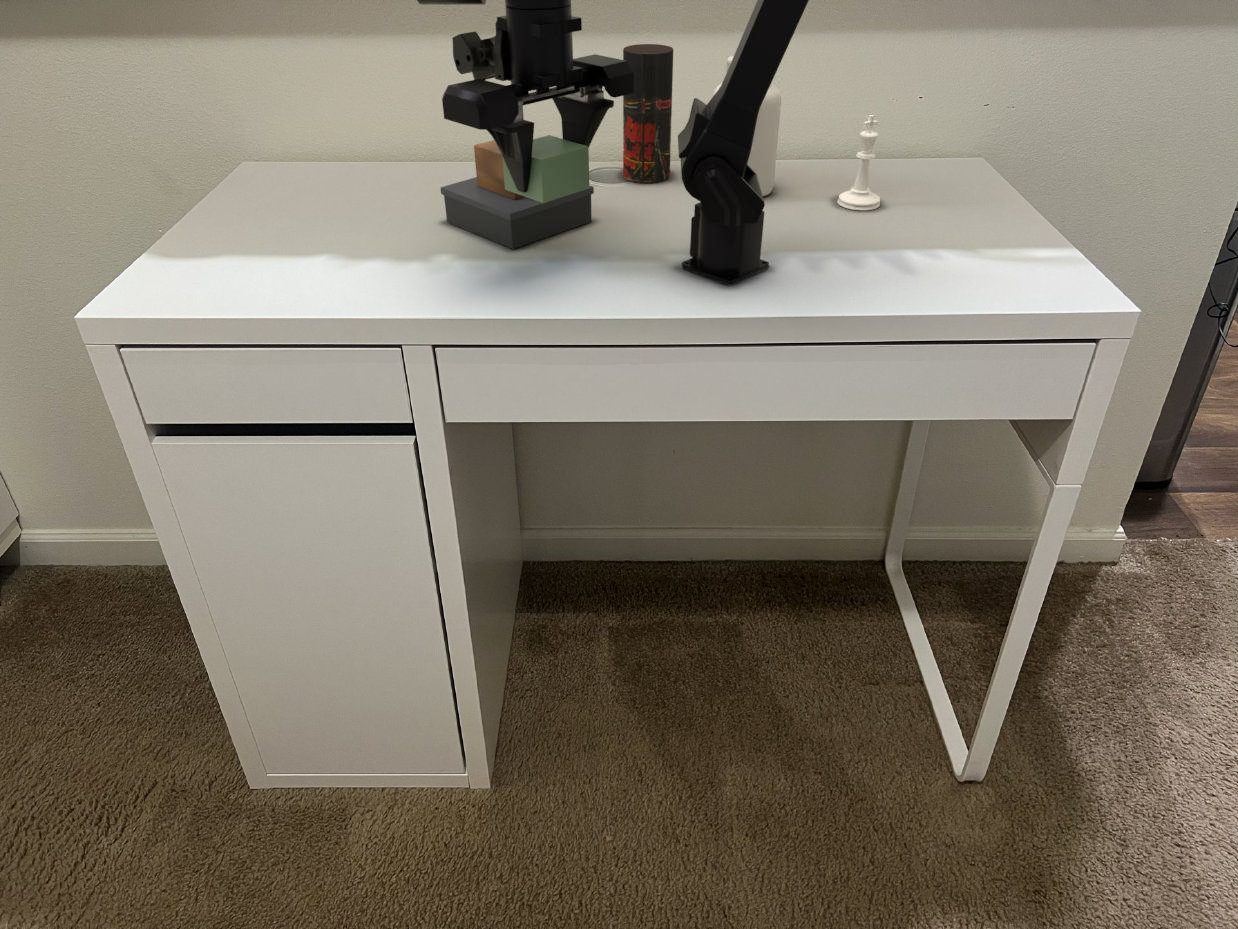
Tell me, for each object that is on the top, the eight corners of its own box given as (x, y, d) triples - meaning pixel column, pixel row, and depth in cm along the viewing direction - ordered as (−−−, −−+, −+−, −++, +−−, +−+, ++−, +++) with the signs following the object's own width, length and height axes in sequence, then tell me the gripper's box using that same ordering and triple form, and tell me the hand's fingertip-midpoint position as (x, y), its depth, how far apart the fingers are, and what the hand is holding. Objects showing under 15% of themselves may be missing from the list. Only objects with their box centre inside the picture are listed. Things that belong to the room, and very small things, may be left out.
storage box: (594, 221, 104) (593, 186, 101) (512, 250, 97) (509, 213, 94) (525, 196, 111) (523, 163, 108) (444, 222, 104) (440, 187, 101)
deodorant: (617, 171, 119) (616, 45, 110) (660, 166, 120) (663, 42, 112) (631, 185, 114) (632, 55, 105) (676, 180, 116) (680, 52, 107)
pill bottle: (771, 180, 115) (783, 52, 107) (774, 202, 109) (787, 67, 100) (708, 178, 116) (715, 50, 107) (707, 200, 110) (714, 65, 101)
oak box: (557, 187, 101) (555, 145, 99) (515, 200, 98) (512, 157, 95) (518, 174, 105) (516, 133, 102) (477, 186, 102) (473, 145, 99)
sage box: (589, 188, 89) (588, 146, 87) (543, 203, 85) (540, 160, 83) (551, 175, 92) (549, 134, 90) (504, 189, 89) (501, 147, 86)
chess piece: (888, 207, 107) (903, 118, 102) (852, 213, 106) (865, 123, 100) (864, 194, 111) (877, 108, 105) (829, 199, 110) (840, 112, 104)
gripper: (556, -16, 90) (562, 146, 99) (394, 7, 79) (418, 187, 88) (638, -5, 83) (637, 168, 92) (474, 23, 72) (491, 216, 81)
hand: (547, 183), depth 89 cm, fingers closed on sage box, 6 cm apart
